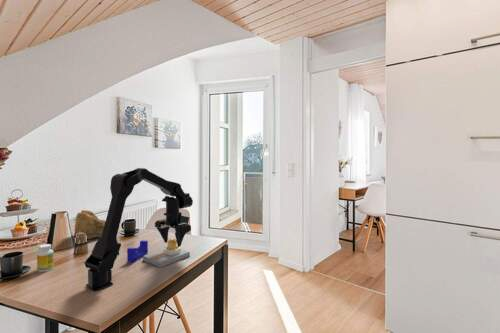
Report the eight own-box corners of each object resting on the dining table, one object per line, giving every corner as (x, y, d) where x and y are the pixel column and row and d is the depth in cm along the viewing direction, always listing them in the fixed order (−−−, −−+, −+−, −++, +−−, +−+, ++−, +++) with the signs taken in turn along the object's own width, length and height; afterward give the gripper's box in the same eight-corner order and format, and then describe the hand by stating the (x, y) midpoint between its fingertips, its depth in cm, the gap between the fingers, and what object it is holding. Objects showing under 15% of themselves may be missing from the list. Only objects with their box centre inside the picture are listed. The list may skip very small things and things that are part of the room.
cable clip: (138, 252, 133) (138, 240, 133) (147, 253, 132) (147, 240, 132) (124, 262, 121) (123, 248, 121) (133, 262, 121) (133, 249, 120)
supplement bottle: (41, 267, 114) (41, 243, 114) (56, 266, 115) (55, 243, 115) (34, 272, 109) (33, 248, 109) (49, 271, 110) (49, 247, 110)
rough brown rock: (107, 243, 149) (109, 214, 149) (70, 244, 142) (73, 214, 142) (108, 233, 170) (110, 208, 171) (76, 233, 163) (78, 207, 163)
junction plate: (160, 267, 116) (160, 257, 116) (143, 260, 123) (143, 251, 123) (189, 256, 129) (189, 247, 129) (172, 250, 136) (172, 242, 136)
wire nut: (171, 254, 125) (171, 241, 125) (165, 252, 128) (165, 239, 127) (178, 251, 129) (178, 239, 128) (172, 249, 131) (172, 237, 131)
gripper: (200, 210, 129) (200, 244, 129) (173, 205, 139) (173, 236, 140) (180, 214, 119) (180, 250, 120) (154, 208, 130) (154, 242, 131)
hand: (172, 244), depth 128 cm, fingers open, 9 cm apart
